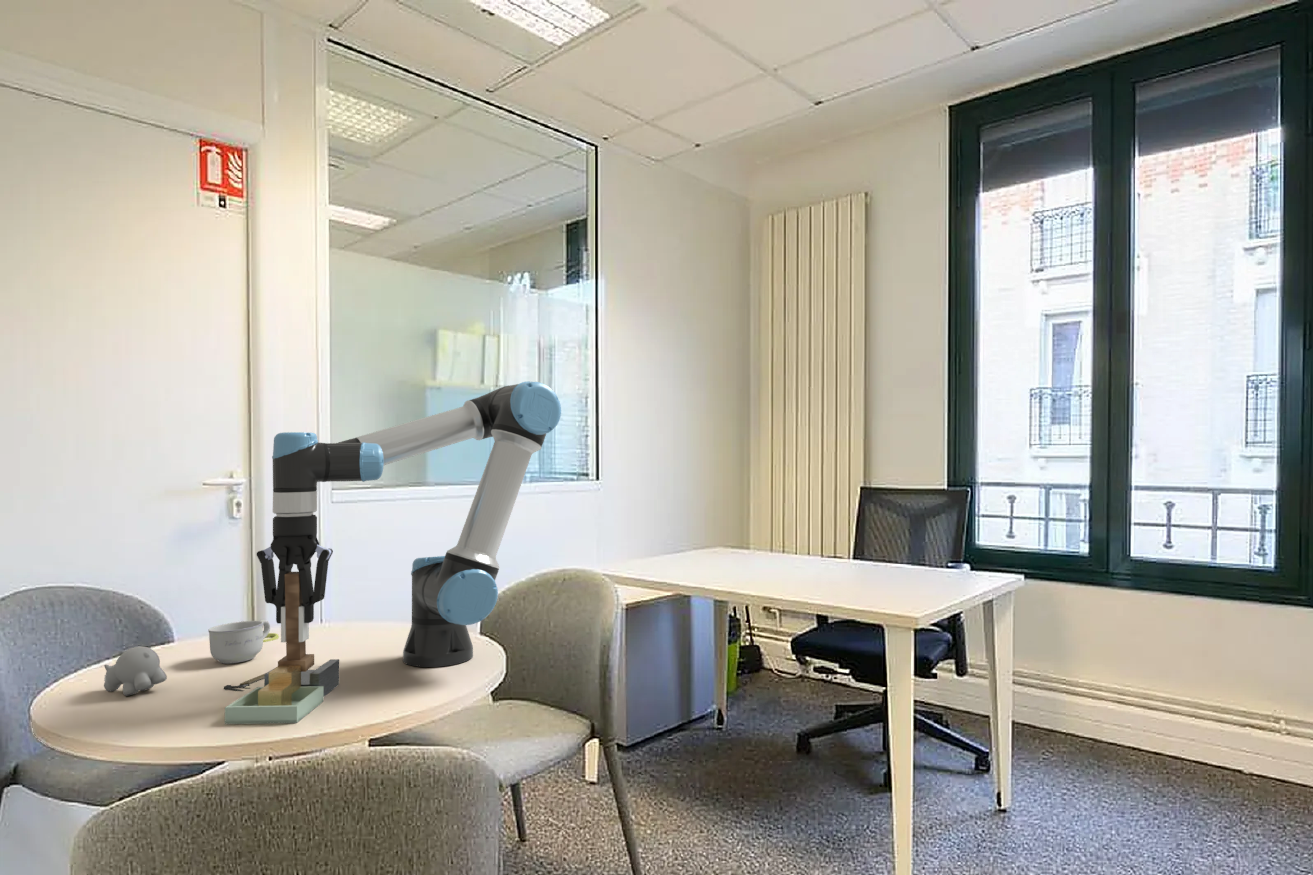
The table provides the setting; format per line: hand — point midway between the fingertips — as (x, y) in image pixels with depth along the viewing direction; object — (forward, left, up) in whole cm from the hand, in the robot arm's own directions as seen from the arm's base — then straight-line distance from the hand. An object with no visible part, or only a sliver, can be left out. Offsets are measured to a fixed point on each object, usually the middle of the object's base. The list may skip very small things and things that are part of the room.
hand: (295, 640), depth 142 cm
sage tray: (0, +7, -11) cm, 13 cm away
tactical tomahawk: (+11, -16, -12) cm, 23 cm away
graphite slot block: (0, -4, -11) cm, 12 cm away
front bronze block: (0, +5, -8) cm, 10 cm away
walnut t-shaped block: (0, -1, -5) cm, 5 cm away
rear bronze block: (0, +3, -8) cm, 9 cm away
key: (+31, -50, -12) cm, 60 cm away
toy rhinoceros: (+34, -7, -11) cm, 36 cm away
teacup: (+24, -30, -11) cm, 40 cm away
